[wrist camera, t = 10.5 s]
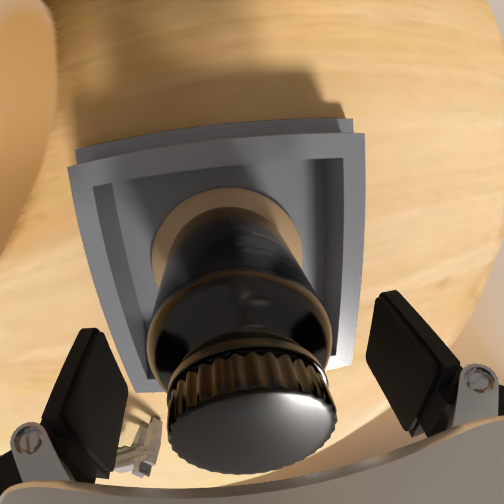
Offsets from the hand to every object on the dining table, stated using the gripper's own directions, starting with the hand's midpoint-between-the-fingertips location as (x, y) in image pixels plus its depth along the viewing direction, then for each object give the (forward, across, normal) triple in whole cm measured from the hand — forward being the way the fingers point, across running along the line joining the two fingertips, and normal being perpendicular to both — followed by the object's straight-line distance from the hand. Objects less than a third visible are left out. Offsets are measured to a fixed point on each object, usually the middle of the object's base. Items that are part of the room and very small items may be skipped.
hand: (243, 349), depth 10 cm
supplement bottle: (+9, 0, +1) cm, 9 cm away
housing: (+10, 0, +1) cm, 10 cm away
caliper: (+10, +16, +22) cm, 29 cm away
